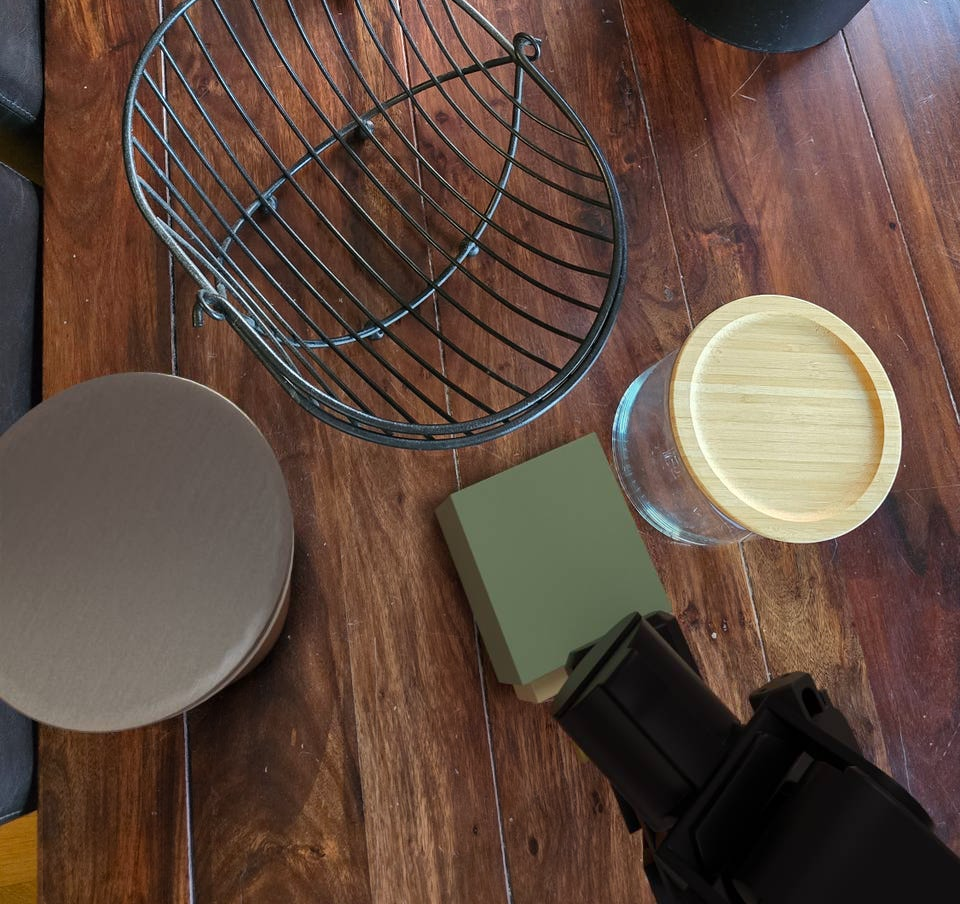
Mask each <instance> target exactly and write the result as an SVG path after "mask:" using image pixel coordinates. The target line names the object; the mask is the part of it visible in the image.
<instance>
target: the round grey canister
mask: <svg viewBox="0 0 960 904" xmlns="http://www.w3.org/2000/svg"><path fill="white" fill-rule="evenodd" d="M294 531H295V530H294V521H293V514H292V507H291V501H290V496H289V491H288V486H287V482H286V479H285V476H284V473H283V470H282V467H281V465H280V462H279V460H278V458H277V455H276V453H275V451H274V450H273V448H272V446H271V445H270V443H269V440H268V439H267V438H266V436H265V435H264V433H263V432H262V431H261V429H260V428H259V426H258V425H257V424H256V422H254V421H253V420H252V419H251V417H250V416H249V415H248V414H247V413H246V412H245V411H244V410H242V409H241V408H240V407H239V406H238V405H237V404H236V403H235V402H233V401H232V400H231V399H229V398H227V397H226V396H224V395H223V394H222V393H221V392H218V391H216V390H215V389H213V388H211V387H209V386H207V385H205V384H202V383H200V382H197V381H196V380H192V379H190V378H186V377H183V376H180V375H176V374H170V373H163V372H156V371H129V372H128V371H127V372H126V371H125V372H119V373H118V372H117V373H111V374H106V375H102V376H98V377H95V378H91V379H88V380H85V381H82V382H79V383H75V384H74V385H71V386H70V387H67V388H64V389H63V390H61V391H58V392H57V393H55V394H53V395H52V396H50V397H48V398H46V399H45V400H43V401H41V402H40V403H38V404H37V405H36V406H35V407H33V408H31V409H30V410H28V411H27V412H26V413H25V414H24V415H22V416H21V417H20V418H19V419H18V420H17V421H16V422H14V423H13V424H12V425H11V426H10V427H9V428H8V429H7V430H6V431H5V432H4V433H3V434H2V435H1V436H0V700H1V701H2V702H3V703H5V704H6V705H7V706H8V707H10V708H11V709H13V710H14V711H16V712H18V713H20V714H21V715H23V716H25V717H27V718H28V719H30V720H33V721H35V722H38V723H40V724H43V725H45V726H48V727H52V728H56V729H60V730H63V731H69V732H75V733H82V734H106V733H108V734H109V733H118V732H125V731H130V730H136V729H139V728H143V727H146V726H150V725H153V724H156V723H160V722H163V721H166V720H168V719H171V718H174V717H176V716H179V715H181V714H183V713H185V712H188V711H190V710H192V709H194V708H195V707H197V706H199V705H201V704H202V703H204V702H205V701H207V700H209V699H211V697H213V696H214V695H216V694H217V693H219V692H220V691H222V690H224V689H225V688H227V687H229V686H230V685H232V684H234V683H236V682H237V681H240V679H242V678H244V677H245V676H247V675H248V674H249V673H251V672H252V671H253V670H255V669H256V668H257V667H258V666H259V665H260V664H261V663H262V662H263V661H264V660H265V659H266V657H267V656H269V654H270V652H271V650H273V648H274V646H275V645H276V643H277V641H278V639H279V638H280V636H281V633H282V632H283V629H284V627H285V624H286V621H287V616H288V613H289V610H290V609H289V608H290V601H291V583H292V582H291V581H292V570H293V562H294V551H295V532H294Z"/></svg>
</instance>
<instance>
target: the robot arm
mask: <svg viewBox="0 0 960 904" xmlns="http://www.w3.org/2000/svg"><path fill="white" fill-rule="evenodd" d="M692 653H693V652H692V651H691V648H690V646H689V644H688V641H687V639H686V637H685V635H684V633H683V630H682V628H681V624H680V623H679V620H678V619H677V617H676V616H675V615H673V614H671V613H666V612H663V611H661V610H659V611H653V612H650V613H648V614H646V615H644V616H642V615H640V613H639V612H638V611H635V612H632V613H630V614H629V615H627V616H626V617H624V618H623V619H622V620H620V621H619V622H618V623H617V624H616V625H615V626H614V627H612V628H611V629H610V630H609V631H608V632H607V633H606V634H605V635H604V636H601V637H599V638H597V639H595V640H593V641H591V642H589V643H587V644H585V645H583V646H581V647H579V648H577V649H575V650H573V651H571V652H569V655H568V658H567V662H566V665H565V670H566V673H567V676H568V679H567V680H566V682H565V683H564V685H563V686H562V687H561V689H560V690H559V692H558V694H557V695H555V696H554V699H553V701H552V703H551V705H550V707H549V712H548V714H549V716H550V717H551V718H552V719H553V720H554V722H556V724H557V725H558V726H559V727H560V728H561V729H562V730H563V732H564V733H565V734H566V735H567V736H568V738H570V740H571V739H572V740H573V741H574V743H575V744H576V745H577V746H578V747H579V748H580V749H581V750H582V752H583V753H584V754H585V755H586V756H587V757H588V758H589V759H590V760H589V761H590V762H591V763H592V764H593V765H594V766H595V768H596V769H597V770H598V771H599V772H600V773H601V774H602V775H603V777H604V778H605V779H606V780H607V781H608V782H609V785H610V788H611V790H612V793H613V796H614V799H615V800H616V804H617V806H618V808H619V811H620V813H621V816H622V818H623V821H624V825H625V826H626V829H627V831H628V833H629V834H630V835H633V834H634V833H636V832H638V831H640V830H641V831H642V869H643V872H644V875H645V877H646V879H647V882H648V885H649V887H650V890H651V892H652V894H653V897H654V900H655V902H656V904H960V856H958V855H957V854H956V853H955V852H954V851H953V850H952V849H951V848H950V847H949V846H948V845H947V844H946V843H945V842H943V840H941V838H939V837H938V836H937V835H936V832H937V829H938V828H937V826H936V824H935V822H934V820H933V818H932V817H931V816H930V814H929V813H928V812H927V810H926V808H924V807H923V806H922V804H921V803H919V801H918V800H917V799H916V798H915V797H914V796H913V795H912V794H911V793H910V792H909V791H908V790H907V789H905V787H904V786H903V785H901V784H900V783H899V782H898V781H897V780H895V779H894V778H893V777H892V776H890V774H888V773H887V772H885V771H884V770H882V769H881V768H880V767H878V766H877V765H875V764H874V763H873V762H872V761H869V760H868V759H867V758H866V757H865V755H864V752H863V751H862V749H861V746H860V744H859V743H858V740H857V738H856V737H855V734H854V732H853V730H852V728H851V726H850V724H849V722H848V720H847V717H846V716H845V715H844V714H843V712H842V711H841V710H840V709H839V708H837V707H835V706H834V705H833V702H832V700H831V698H830V696H829V694H828V692H827V690H826V688H822V689H818V687H817V685H816V683H815V681H814V679H813V677H812V675H811V673H810V672H807V671H802V670H795V671H791V672H787V673H783V674H781V675H778V676H776V677H774V678H772V679H771V680H770V681H768V682H766V683H764V684H763V685H761V686H760V687H758V688H757V689H755V690H753V691H752V692H751V693H749V694H748V698H747V700H748V702H749V704H750V707H751V709H752V711H753V714H752V716H750V718H749V720H748V721H747V722H746V724H745V723H742V722H741V719H740V718H739V717H738V716H737V715H736V714H735V713H734V712H733V711H732V710H731V709H730V708H729V706H727V705H726V703H724V701H722V699H721V698H719V696H718V695H717V694H716V693H715V692H714V691H713V689H712V688H710V687H709V685H707V683H706V682H705V680H704V678H703V675H702V674H701V671H700V669H699V666H698V664H697V662H696V660H695V657H694V655H693V654H692ZM572 740H571V741H572Z"/></svg>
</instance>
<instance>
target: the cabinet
mask: <svg viewBox="0 0 960 904" xmlns="http://www.w3.org/2000/svg"><path fill="white" fill-rule="evenodd" d="M434 513H435V515H436V518H437V521H438V524H439V526H440V528H441V531H442V534H443V536H444V539H445V542H446V544H447V545H446V546H447V547H448V550H449V552H450V555H451V558H452V561H453V563H454V566H455V568H456V571H457V573H458V577H459V579H460V582H461V585H462V588H463V590H464V592H465V596H466V598H467V601H468V604H469V606H470V608H471V611H472V614H473V616H474V620H475V622H476V625H477V627H478V630H479V633H480V635H481V638H482V641H483V643H484V646H485V649H486V651H487V655H488V657H489V660H490V663H491V664H492V665H491V666H492V668H493V670H494V673H495V676H496V678H497V681H498V682H499V683H501V684H508V685H513V684H514V685H521V686H524V685H526V684H528V683H530V682H532V681H534V680H536V679H538V678H540V677H542V676H544V675H546V674H548V673H550V672H552V671H554V670H556V669H558V668H560V667H562V666H564V665H566V662H567V658H568V655H569V652H571V651H573V650H575V649H577V648H579V647H581V646H583V645H585V644H587V643H589V642H591V641H593V640H595V639H597V638H599V637H601V636H604V635H605V634H606V633H607V632H608V631H609V630H610V629H611V628H612V627H614V626H615V625H616V624H617V623H618V622H619V621H620V620H622V619H623V618H624V617H626V616H627V615H629V614H630V613H632V612H635V611H638V612H639V613H640V615H642V616H644V615H646V614H648V613H650V612H653V611H659V610H661V611H663V612H666V613H668V614H671V613H672V612H673V611H674V608H673V606H672V604H671V601H670V600H669V597H668V595H667V592H666V591H665V588H664V585H663V584H662V583H663V582H662V581H661V578H660V577H659V574H658V572H657V570H656V567H655V565H654V563H653V560H652V559H651V555H650V554H649V551H648V549H647V547H646V544H645V541H644V540H643V538H642V536H641V534H640V532H639V529H638V527H637V524H636V522H635V520H634V518H633V517H634V516H633V515H632V513H631V511H630V508H629V506H628V503H627V502H626V499H625V497H624V494H623V493H622V490H621V487H620V485H619V483H618V481H617V478H616V477H615V474H614V471H613V469H612V467H611V465H610V463H609V460H608V459H607V456H606V453H605V451H604V448H603V447H602V445H601V443H600V440H599V438H598V436H597V433H596V432H595V431H593V432H591V433H589V434H586V435H584V436H582V437H579V438H577V439H575V440H573V441H569V442H568V443H565V444H563V445H561V446H559V447H556V448H555V449H552V450H549V451H547V452H545V453H542V454H541V455H538V456H536V457H534V458H531V459H528V460H527V461H524V462H522V463H519V464H517V465H515V466H512V467H511V468H508V469H506V470H504V471H502V472H499V473H497V474H494V475H492V476H490V477H488V478H486V479H483V480H481V481H478V482H476V483H474V484H472V485H469V486H467V487H464V488H463V489H460V490H458V491H456V492H453V493H451V494H449V495H448V496H447V498H445V499H444V500H443V502H441V504H439V505H438V506H437V507H436V509H435V510H434Z"/></svg>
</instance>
